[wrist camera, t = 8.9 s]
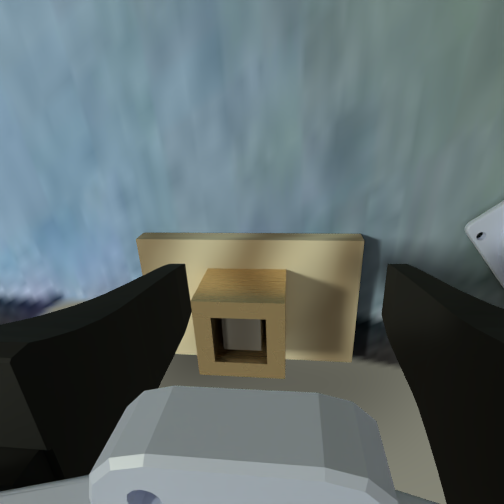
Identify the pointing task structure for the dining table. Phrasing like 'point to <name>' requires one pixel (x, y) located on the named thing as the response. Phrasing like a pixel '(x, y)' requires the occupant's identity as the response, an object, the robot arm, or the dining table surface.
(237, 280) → the collar
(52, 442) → the robot arm
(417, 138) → the dining table surface
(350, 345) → the post stand
